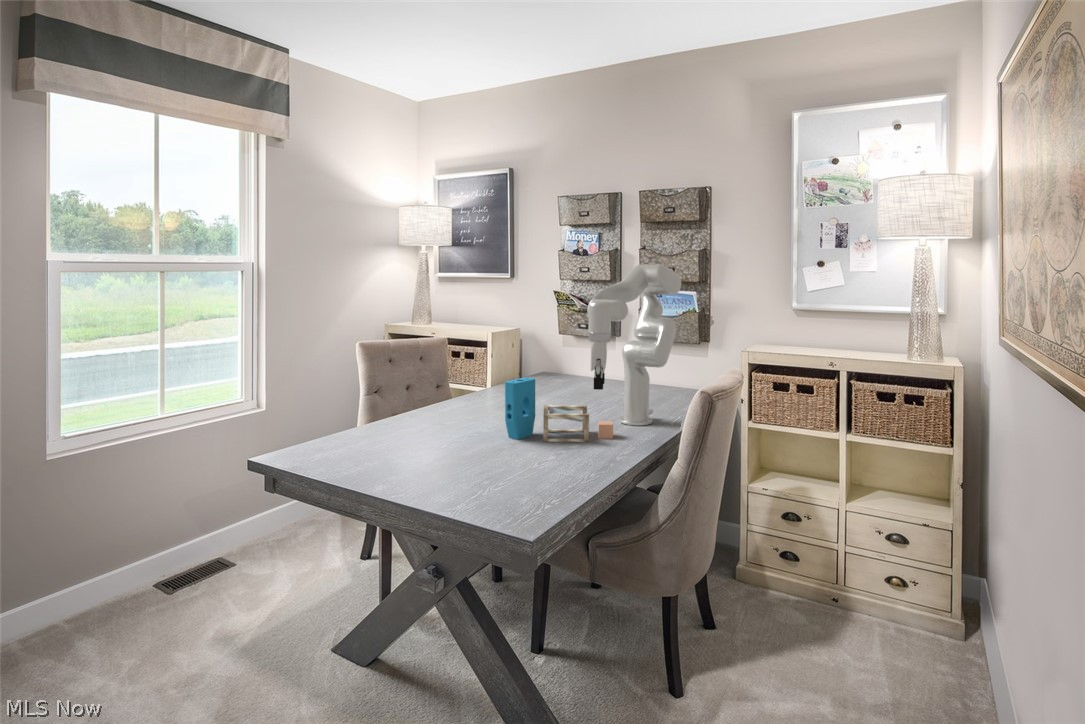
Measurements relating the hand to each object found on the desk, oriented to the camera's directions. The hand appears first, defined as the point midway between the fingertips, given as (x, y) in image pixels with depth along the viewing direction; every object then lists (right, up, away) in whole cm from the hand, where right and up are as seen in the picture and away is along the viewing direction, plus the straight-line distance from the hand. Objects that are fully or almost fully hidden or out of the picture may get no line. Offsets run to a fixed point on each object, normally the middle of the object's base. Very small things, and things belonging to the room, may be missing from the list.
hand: (599, 386), depth 221 cm
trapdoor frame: (-11, -18, +5) cm, 22 cm away
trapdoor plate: (-12, -10, +4) cm, 16 cm away
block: (-27, -18, +5) cm, 33 cm away
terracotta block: (+3, -18, +5) cm, 19 cm away
